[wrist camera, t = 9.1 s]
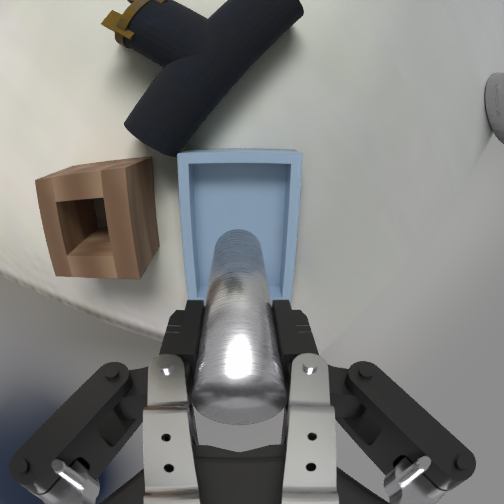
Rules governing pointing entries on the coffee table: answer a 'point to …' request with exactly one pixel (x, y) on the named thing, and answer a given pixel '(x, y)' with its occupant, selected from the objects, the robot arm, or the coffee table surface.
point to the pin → (238, 338)
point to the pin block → (84, 221)
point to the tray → (240, 210)
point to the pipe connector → (194, 59)
